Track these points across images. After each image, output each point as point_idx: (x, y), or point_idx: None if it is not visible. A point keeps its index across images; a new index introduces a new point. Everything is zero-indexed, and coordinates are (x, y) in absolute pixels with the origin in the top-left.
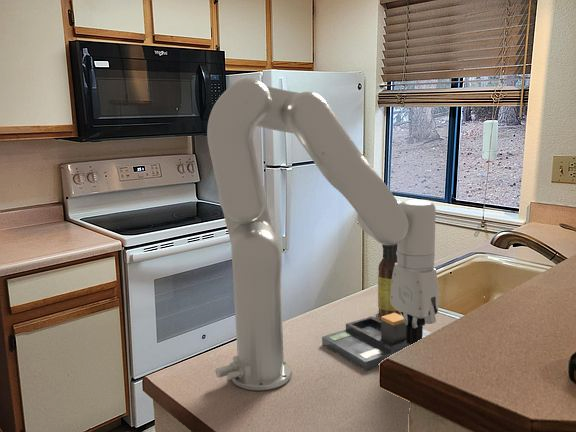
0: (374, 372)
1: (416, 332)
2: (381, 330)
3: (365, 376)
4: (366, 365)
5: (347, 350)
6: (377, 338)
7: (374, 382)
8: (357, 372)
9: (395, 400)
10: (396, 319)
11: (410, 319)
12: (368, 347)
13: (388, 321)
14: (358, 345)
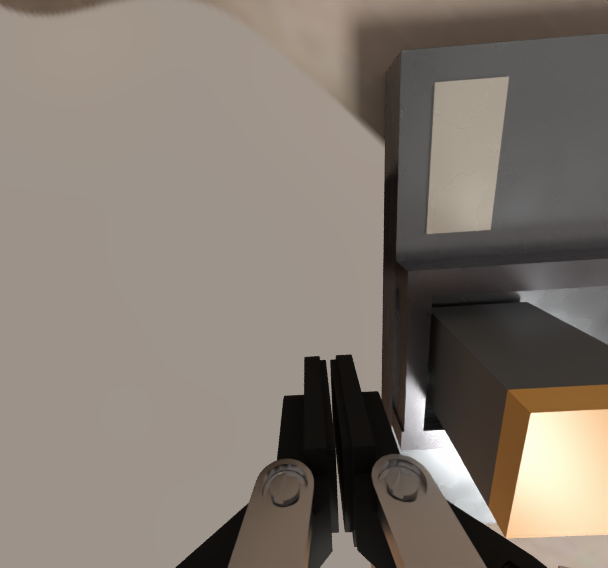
0: (347, 107)
1: (283, 442)
2: (583, 333)
3: (339, 28)
4: (393, 67)
5: (604, 44)
6: (547, 277)
7: (261, 31)
8: (400, 15)
9: (59, 7)
10: (553, 465)
11: (387, 538)
12: (532, 200)
13: (592, 397)
14: (596, 162)
